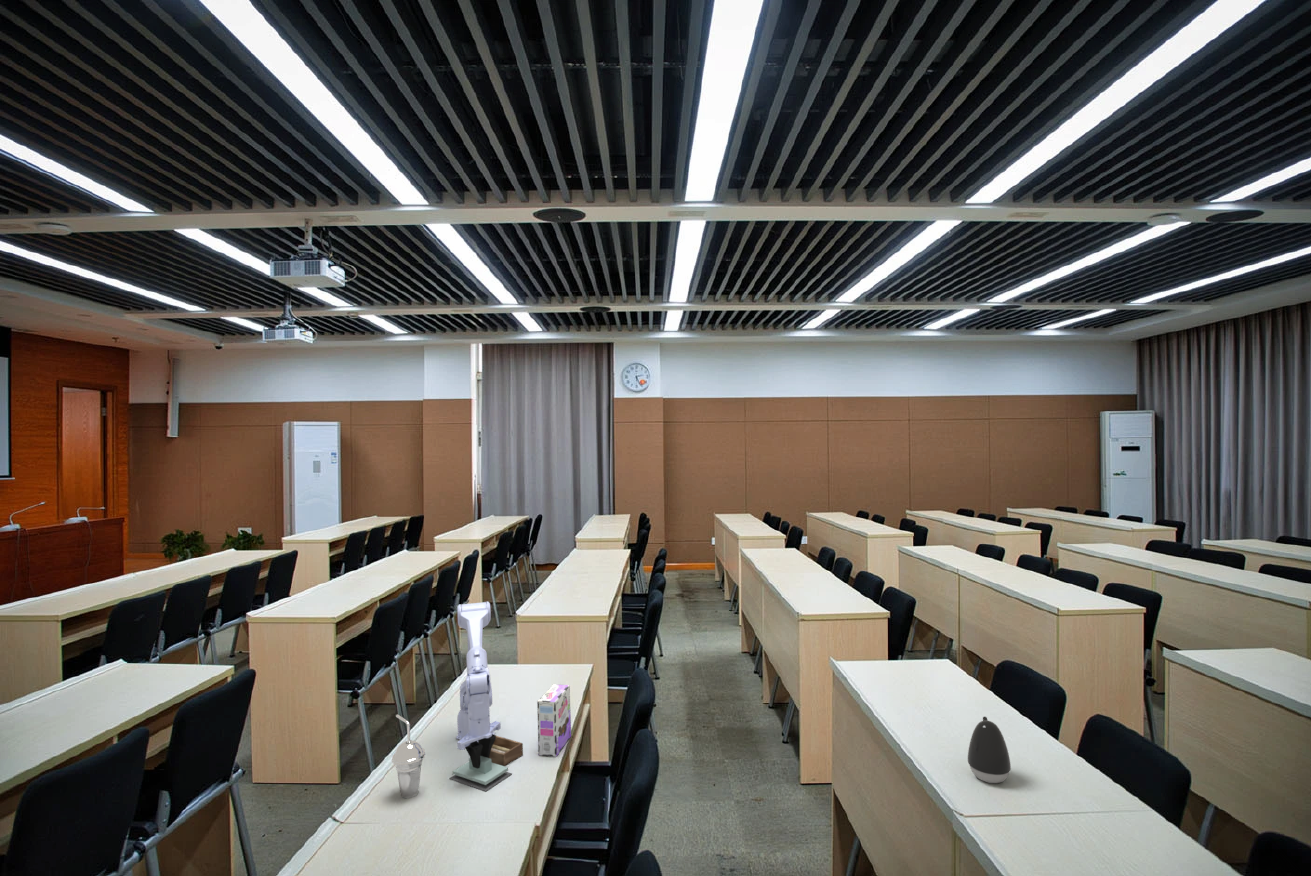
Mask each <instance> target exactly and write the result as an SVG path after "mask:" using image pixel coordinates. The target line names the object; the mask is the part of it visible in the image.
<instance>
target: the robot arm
mask: <svg viewBox="0 0 1311 876" xmlns="http://www.w3.org/2000/svg"><path fill="white" fill-rule="evenodd" d="M456 607H457V610H456V611H457V625H458V627H459V628H461V629H464V630H465V631H466V633H467V636H466V637H467V652H466V656H465V657H466V659H465V660H466V676H465V680H464V681H463V682H462V683H460V685H459V707H460V710H459V711H458V714H457V721H456V722H457V735H456V736H455V739H456V740H458V741H457V742H456V747H457V750H460V751H464V750H466V752H467V754H468V756H469V758H470V759H471V762H472V765H473V767H474V768H477V769H478V768H480V756H483V757H487V758H489V756H490V752H491V748H492V746H493V743H494V741H495V739H496V736H497V735H495V734H496V733H495V731H499V730H501V729H502V726H501V725H502V723H501V721H497V720H496V721H493V722H491V721H490V720H491V718H490V717H491V716H490V711H491V710H490V707H491V706H492V705H493V690H492V689H493V688H492V682H491V674H490V670H489V665H488V654H487V651H486V649H484V647H483V628H485V627H487V626H488V625H489V623H490V622H491V618H492V617H491V616H492V613H491V611H492V610H491V603H490V602H489V601H482V602H474V603H473V602H471V603H463V604H462V603H461V604H460V603H459V604H458V605H457V606H456Z"/></svg>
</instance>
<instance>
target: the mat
mask: <svg viewBox="0 0 1311 876" xmlns="http://www.w3.org/2000/svg"><path fill="white" fill-rule="evenodd" d="M512 775H513V773H512V772H509V771H507V772H505V773H503V774H502V775H500V776H499V777H497V778H496V779H494V780H493V781H491V782H490V783H488V784H487V785H484V784H481V783H478V782H475V781H472V780H469V779H466V778H463V777H460V776H457V775H454V774H453V775H452V776H450V777H449V778H448V779H449V780H451V781H454V782H457V783H460V784H462V785H465V786H468V787H471V788H474V789H475V790H480V791H483V792H485V793H486V792H488V791H490V790H492V788H494V787H496V786H497V785H498V784H500V783H502V782H503V781H505V780H506V779H508V778H509V777H510V776H512Z"/></svg>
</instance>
